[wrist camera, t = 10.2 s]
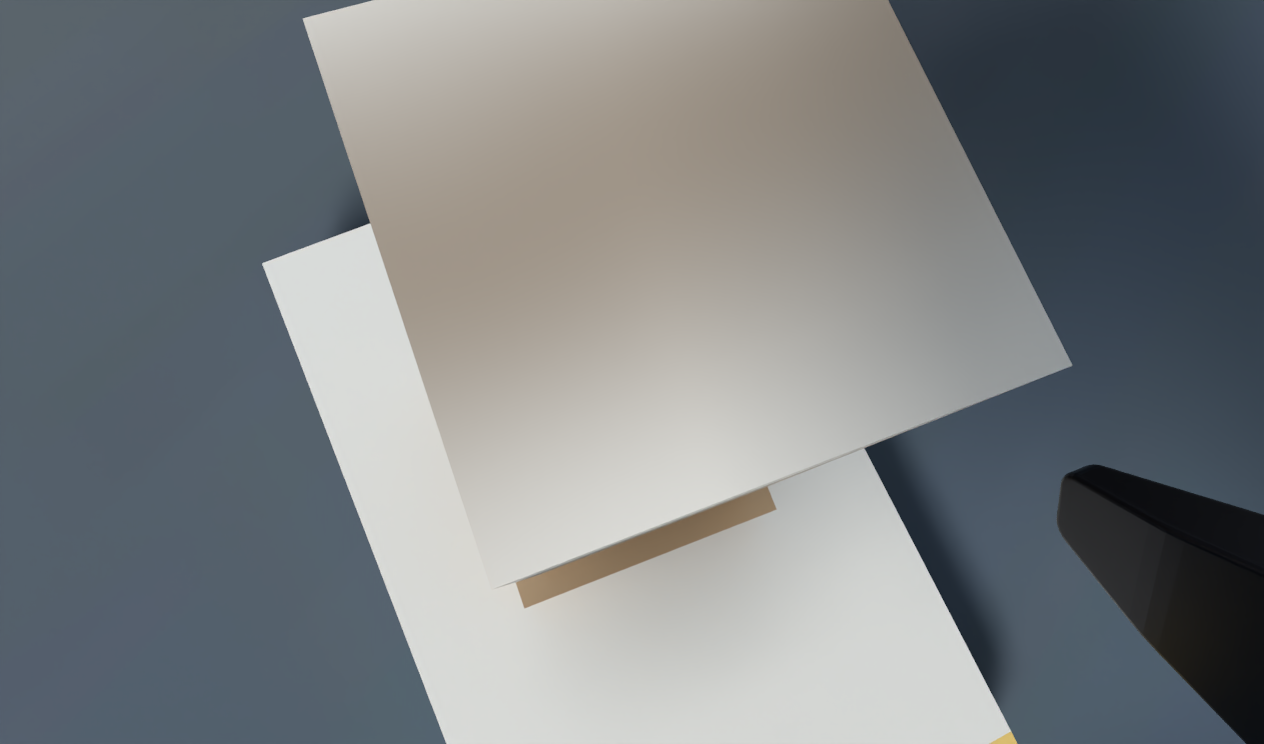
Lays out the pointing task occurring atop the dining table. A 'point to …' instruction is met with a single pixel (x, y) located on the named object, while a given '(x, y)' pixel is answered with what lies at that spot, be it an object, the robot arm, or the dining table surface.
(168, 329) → the dining table surface
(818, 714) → the dock
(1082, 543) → the robot arm
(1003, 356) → the beige tall block
